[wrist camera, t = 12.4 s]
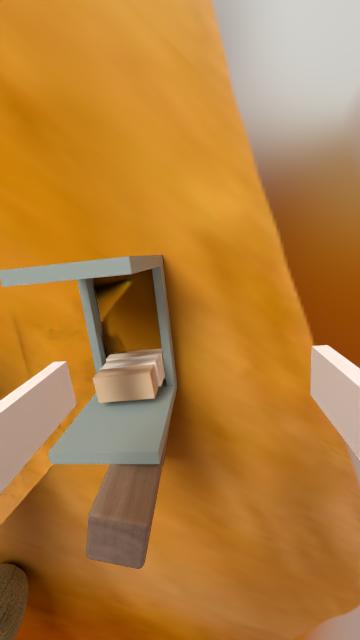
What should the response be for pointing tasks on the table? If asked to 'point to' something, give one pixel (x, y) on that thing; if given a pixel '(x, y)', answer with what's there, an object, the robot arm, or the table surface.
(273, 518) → the table surface
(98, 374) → the offcut top
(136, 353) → the offcut low
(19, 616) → the fruit
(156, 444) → the rack
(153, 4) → the table surface
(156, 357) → the offcut mid
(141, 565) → the wooden block
